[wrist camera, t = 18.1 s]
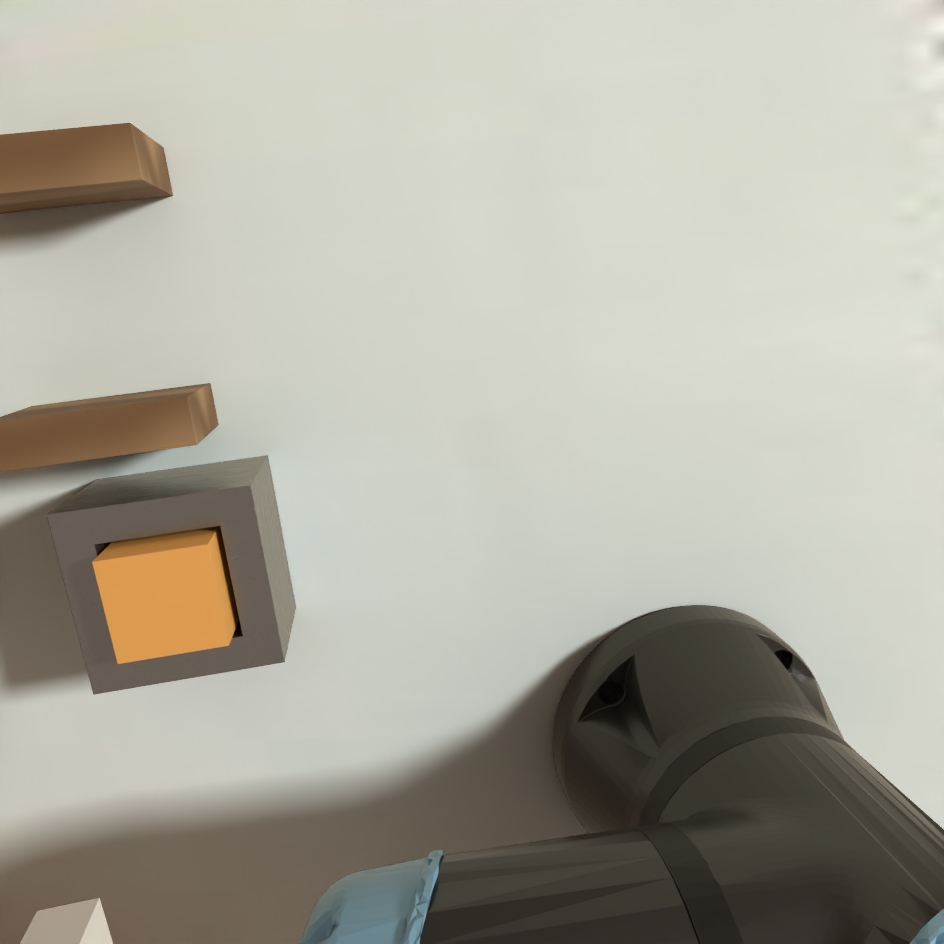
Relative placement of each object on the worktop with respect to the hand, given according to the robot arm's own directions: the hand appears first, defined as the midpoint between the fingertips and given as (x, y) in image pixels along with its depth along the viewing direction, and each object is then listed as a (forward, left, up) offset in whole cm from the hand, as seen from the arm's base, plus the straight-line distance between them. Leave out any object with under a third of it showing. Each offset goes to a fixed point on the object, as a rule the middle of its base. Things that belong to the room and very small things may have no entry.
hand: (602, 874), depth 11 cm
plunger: (-3, +12, -27) cm, 30 cm away
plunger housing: (-3, +12, -29) cm, 31 cm away
